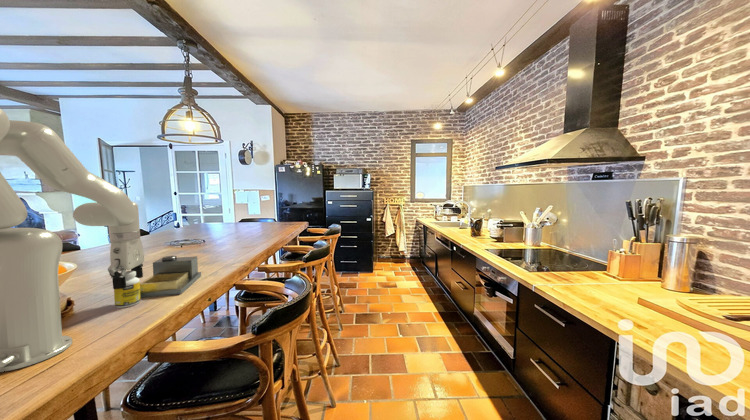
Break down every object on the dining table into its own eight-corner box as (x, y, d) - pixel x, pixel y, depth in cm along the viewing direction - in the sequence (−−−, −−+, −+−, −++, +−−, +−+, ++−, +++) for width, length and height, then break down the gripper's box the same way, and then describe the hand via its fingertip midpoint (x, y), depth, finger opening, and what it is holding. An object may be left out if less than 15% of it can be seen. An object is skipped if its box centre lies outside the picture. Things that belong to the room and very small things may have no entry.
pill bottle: (116, 310, 82) (114, 277, 81) (113, 304, 86) (111, 273, 85) (142, 303, 87) (141, 272, 87) (138, 298, 91) (137, 268, 90)
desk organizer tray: (181, 294, 96) (180, 266, 95) (130, 299, 91) (128, 270, 90) (201, 276, 117) (200, 253, 116) (160, 279, 112) (159, 255, 111)
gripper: (122, 241, 78) (126, 291, 80) (152, 231, 95) (154, 273, 96) (92, 242, 76) (96, 294, 78) (127, 232, 92) (131, 275, 94)
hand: (129, 282), depth 87 cm, fingers open, 9 cm apart
